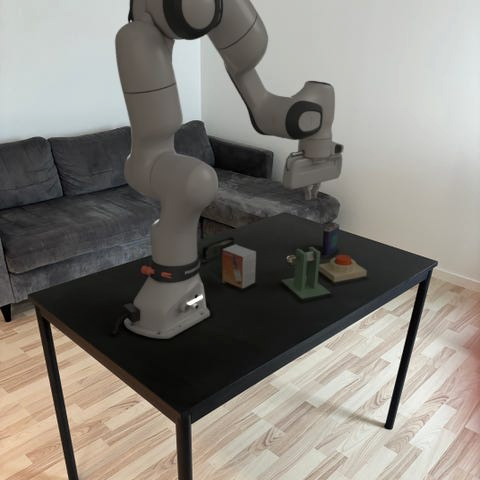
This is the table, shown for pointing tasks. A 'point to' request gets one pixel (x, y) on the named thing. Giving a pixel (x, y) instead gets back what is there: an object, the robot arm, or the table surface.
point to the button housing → (342, 270)
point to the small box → (238, 266)
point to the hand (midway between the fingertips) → (310, 199)
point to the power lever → (291, 259)
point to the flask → (330, 239)
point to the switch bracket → (303, 283)
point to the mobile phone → (216, 247)
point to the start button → (343, 260)
